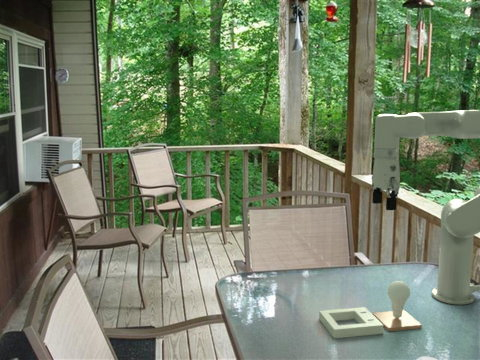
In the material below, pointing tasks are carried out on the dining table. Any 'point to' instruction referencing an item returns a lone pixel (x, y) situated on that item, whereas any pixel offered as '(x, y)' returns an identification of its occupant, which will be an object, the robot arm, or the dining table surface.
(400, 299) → the lightbulb
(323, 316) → the slotted square frame
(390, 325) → the tile
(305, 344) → the dining table surface
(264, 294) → the dining table surface
